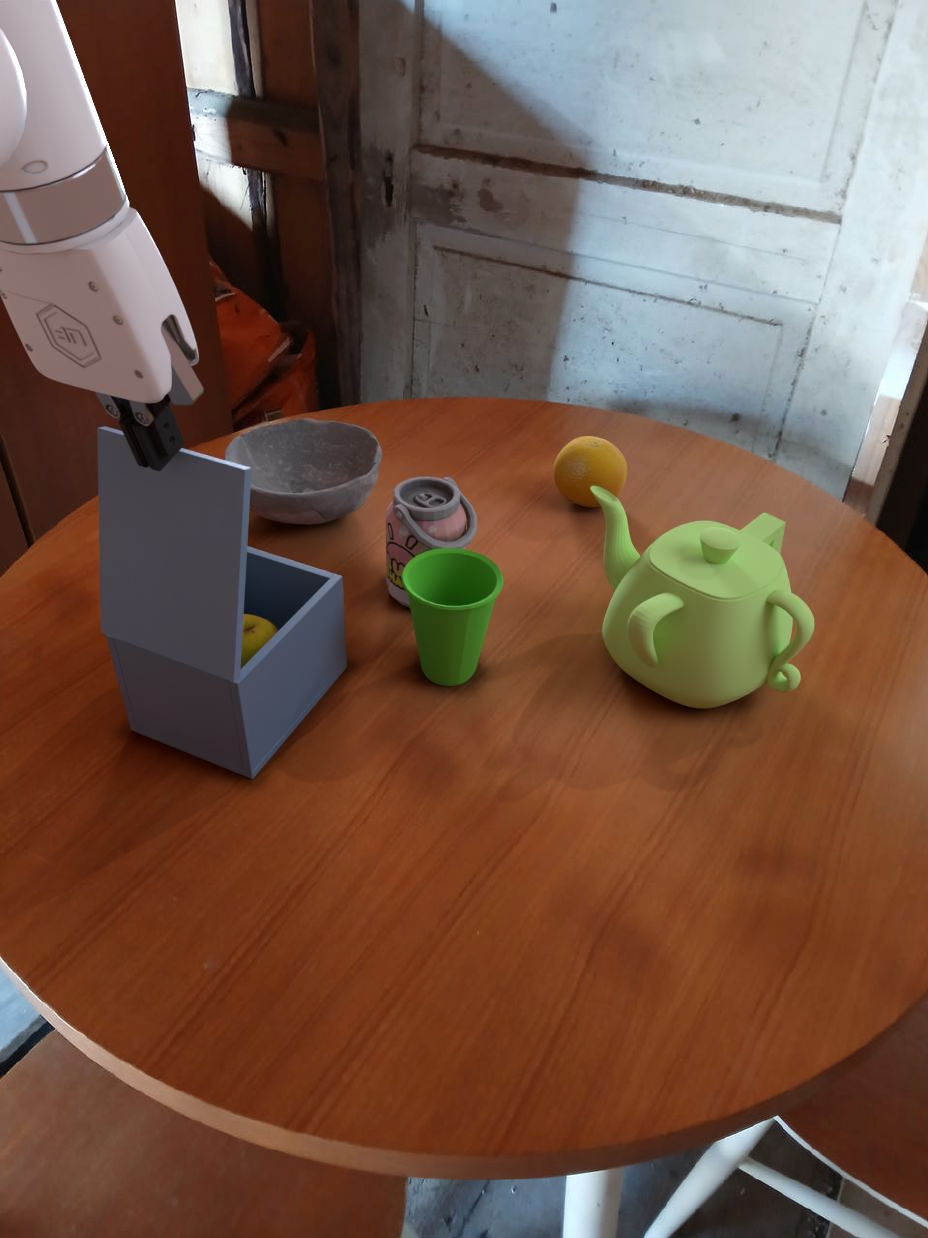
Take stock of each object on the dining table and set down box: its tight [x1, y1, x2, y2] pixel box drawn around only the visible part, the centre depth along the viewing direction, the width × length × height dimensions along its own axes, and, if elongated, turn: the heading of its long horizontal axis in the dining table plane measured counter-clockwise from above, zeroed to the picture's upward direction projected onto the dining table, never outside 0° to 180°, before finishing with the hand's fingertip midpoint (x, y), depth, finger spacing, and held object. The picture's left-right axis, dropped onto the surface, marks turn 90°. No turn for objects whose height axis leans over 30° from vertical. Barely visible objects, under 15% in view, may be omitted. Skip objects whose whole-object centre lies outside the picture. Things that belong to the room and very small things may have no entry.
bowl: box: [223, 418, 383, 526], centre depth 105 cm, size 18×18×8 cm
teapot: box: [590, 486, 816, 709], centre depth 85 cm, size 19×20×14 cm
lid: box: [96, 426, 252, 681], centre depth 66 cm, size 16×13×1 cm
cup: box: [401, 548, 505, 687], centre depth 83 cm, size 9×9×11 cm
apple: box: [240, 614, 278, 670], centre depth 80 cm, size 6×6×8 cm
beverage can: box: [385, 476, 478, 609], centre depth 92 cm, size 9×8×12 cm
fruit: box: [552, 435, 628, 508], centre depth 109 cm, size 9×8×8 cm
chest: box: [105, 545, 348, 780], centre depth 79 cm, size 16×13×11 cm
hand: (162, 455), depth 62 cm, fingers closed
